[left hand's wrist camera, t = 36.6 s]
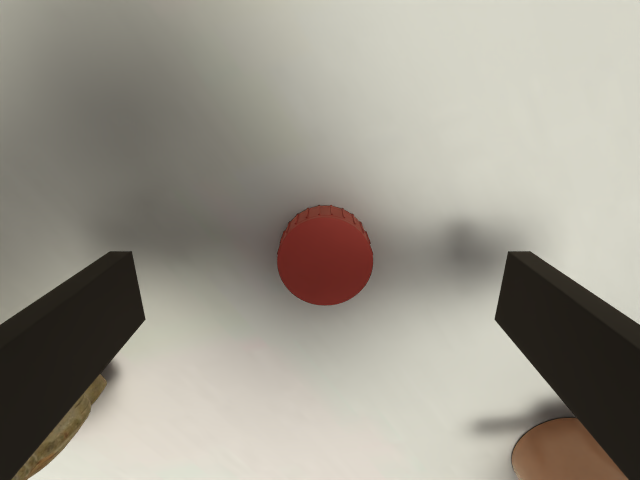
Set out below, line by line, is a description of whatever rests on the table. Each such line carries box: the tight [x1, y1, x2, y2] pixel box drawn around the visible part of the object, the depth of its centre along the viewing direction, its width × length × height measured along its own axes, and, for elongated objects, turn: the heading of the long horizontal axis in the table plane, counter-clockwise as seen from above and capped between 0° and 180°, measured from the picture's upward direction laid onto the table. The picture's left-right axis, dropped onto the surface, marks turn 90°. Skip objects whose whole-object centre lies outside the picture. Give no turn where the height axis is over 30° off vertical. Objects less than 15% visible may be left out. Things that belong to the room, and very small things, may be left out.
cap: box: [277, 205, 373, 305], centre depth 16 cm, size 4×4×2 cm
